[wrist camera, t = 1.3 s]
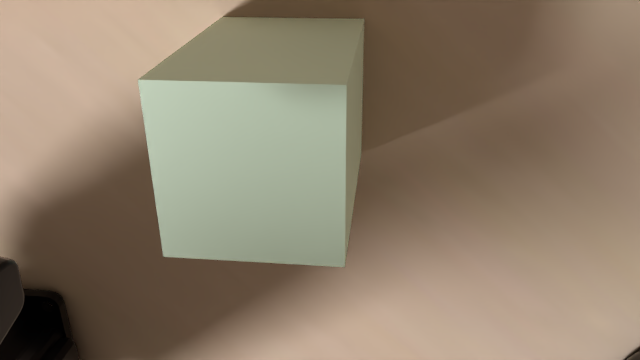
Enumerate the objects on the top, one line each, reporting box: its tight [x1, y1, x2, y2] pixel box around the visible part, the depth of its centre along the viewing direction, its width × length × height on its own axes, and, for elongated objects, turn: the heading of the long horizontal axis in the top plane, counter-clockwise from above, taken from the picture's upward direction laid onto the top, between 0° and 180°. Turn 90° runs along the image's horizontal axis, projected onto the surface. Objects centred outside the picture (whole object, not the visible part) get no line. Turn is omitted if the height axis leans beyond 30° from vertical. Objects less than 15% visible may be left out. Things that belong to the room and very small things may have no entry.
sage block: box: [138, 17, 364, 267], centre depth 17 cm, size 4×4×7 cm
